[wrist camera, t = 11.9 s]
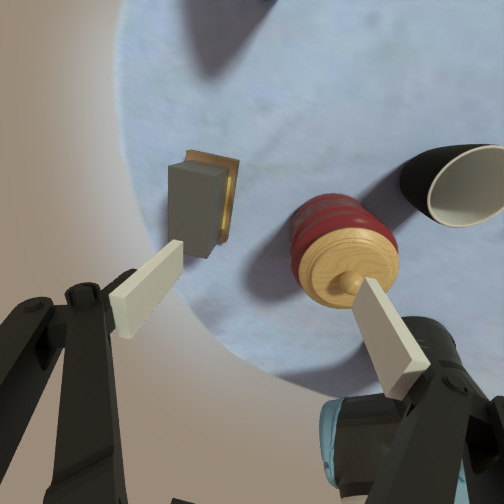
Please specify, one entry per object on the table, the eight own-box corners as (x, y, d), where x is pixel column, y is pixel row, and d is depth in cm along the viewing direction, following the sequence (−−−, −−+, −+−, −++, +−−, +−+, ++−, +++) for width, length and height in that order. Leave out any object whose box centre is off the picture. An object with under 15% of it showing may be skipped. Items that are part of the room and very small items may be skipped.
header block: (228, 238, 42) (219, 254, 37) (187, 228, 42) (172, 243, 37) (239, 160, 36) (231, 164, 30) (191, 149, 36) (173, 152, 30)
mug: (390, 210, 36) (424, 235, 27) (389, 152, 32) (429, 158, 24) (478, 192, 33) (549, 213, 24) (489, 126, 30) (576, 122, 21)
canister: (376, 193, 35) (448, 238, 20) (357, 263, 41) (400, 340, 26) (293, 189, 37) (299, 229, 21) (286, 258, 43) (287, 328, 27)
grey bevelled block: (220, 237, 40) (207, 258, 33) (188, 229, 40) (167, 250, 33) (229, 167, 34) (215, 176, 27) (192, 159, 34) (168, 165, 27)
